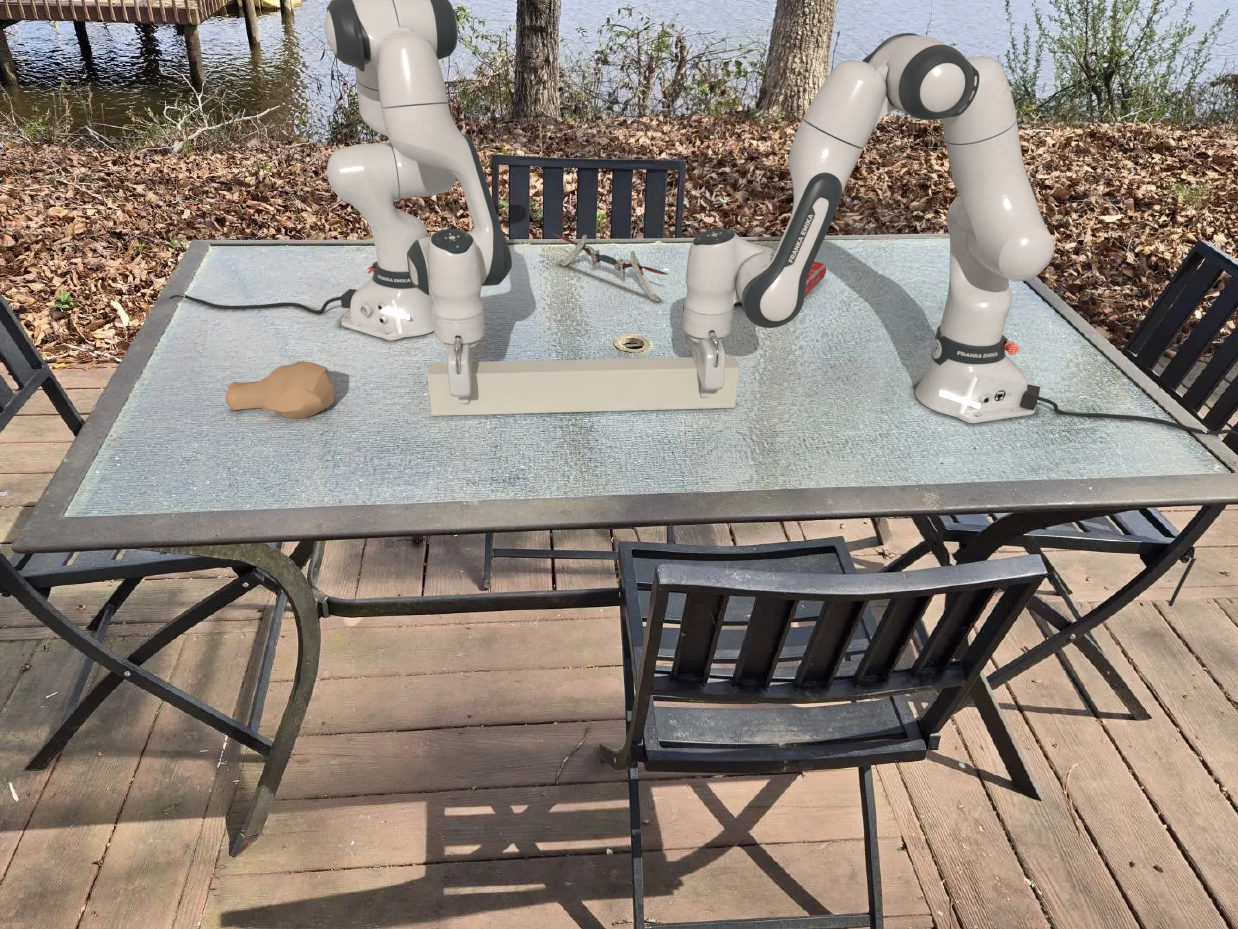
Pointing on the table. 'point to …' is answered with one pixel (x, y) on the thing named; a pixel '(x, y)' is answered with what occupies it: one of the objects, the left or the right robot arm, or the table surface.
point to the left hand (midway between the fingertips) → (464, 393)
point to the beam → (581, 386)
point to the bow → (618, 264)
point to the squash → (286, 391)
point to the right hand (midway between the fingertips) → (701, 387)
